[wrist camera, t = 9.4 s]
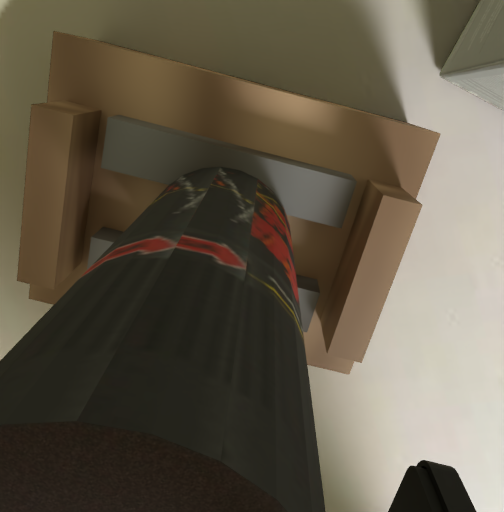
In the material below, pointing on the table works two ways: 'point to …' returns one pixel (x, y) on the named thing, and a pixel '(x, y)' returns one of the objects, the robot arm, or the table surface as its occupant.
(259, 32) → the table surface
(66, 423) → the deodorant
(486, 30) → the skincare box
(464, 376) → the table surface
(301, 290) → the display stand
